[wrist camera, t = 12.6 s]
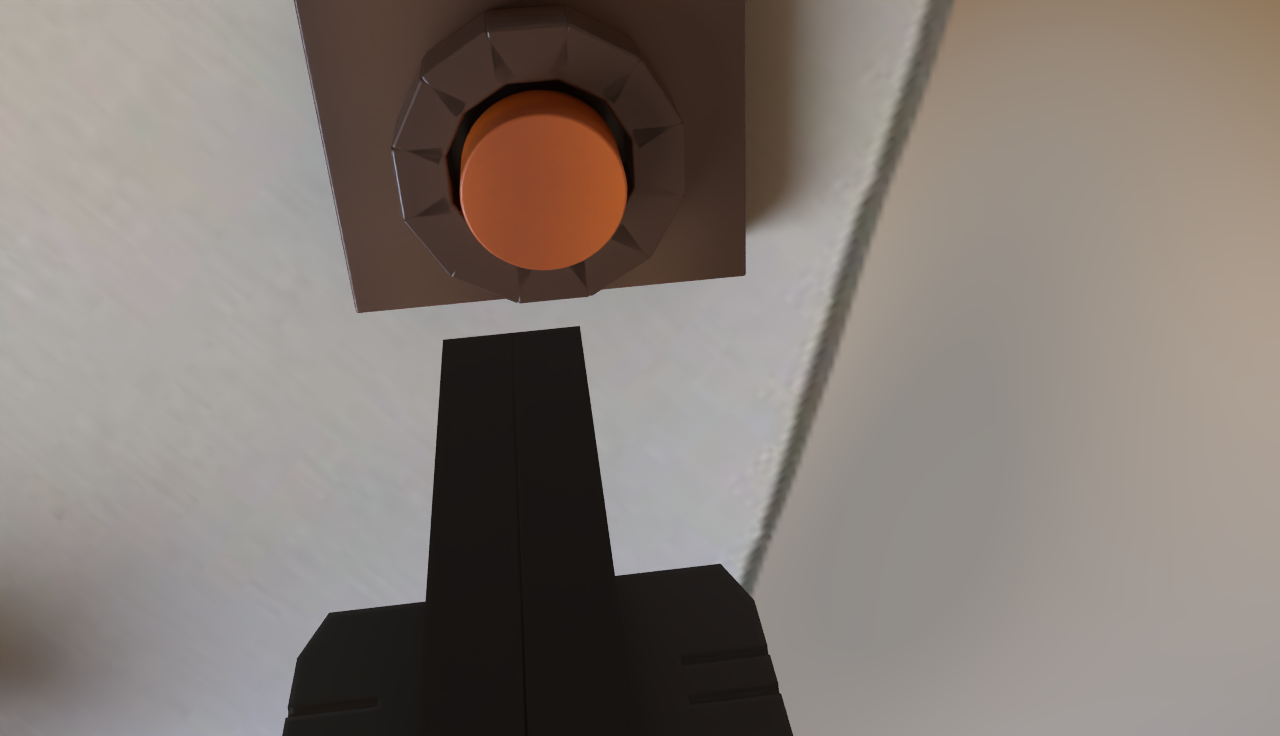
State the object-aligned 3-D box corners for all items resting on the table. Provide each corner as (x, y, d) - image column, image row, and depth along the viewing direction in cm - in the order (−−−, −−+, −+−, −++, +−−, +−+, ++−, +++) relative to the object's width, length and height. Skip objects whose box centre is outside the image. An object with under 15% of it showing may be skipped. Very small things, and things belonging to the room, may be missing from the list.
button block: (727, -64, 28) (761, -29, 24) (730, 241, 32) (760, 308, 28) (304, -32, 27) (278, 9, 23) (364, 275, 31) (348, 349, 28)
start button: (614, 82, 25) (623, 107, 24) (623, 231, 27) (631, 263, 26) (450, 95, 25) (449, 121, 24) (471, 246, 27) (470, 278, 25)
